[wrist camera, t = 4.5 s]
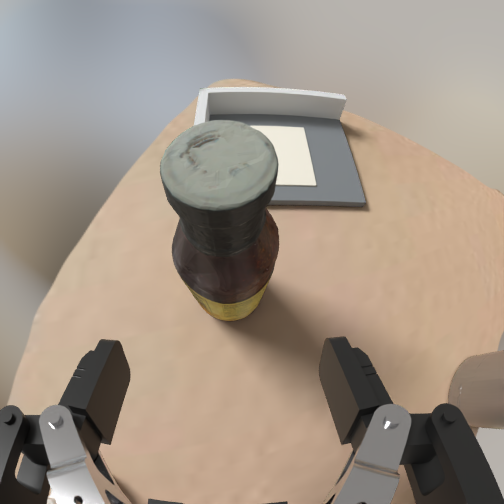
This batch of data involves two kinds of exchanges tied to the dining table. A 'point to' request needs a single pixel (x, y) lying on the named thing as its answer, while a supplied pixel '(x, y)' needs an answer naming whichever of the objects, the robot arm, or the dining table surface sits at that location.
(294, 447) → the dining table surface
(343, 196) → the grey tray
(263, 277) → the sauce bottle
